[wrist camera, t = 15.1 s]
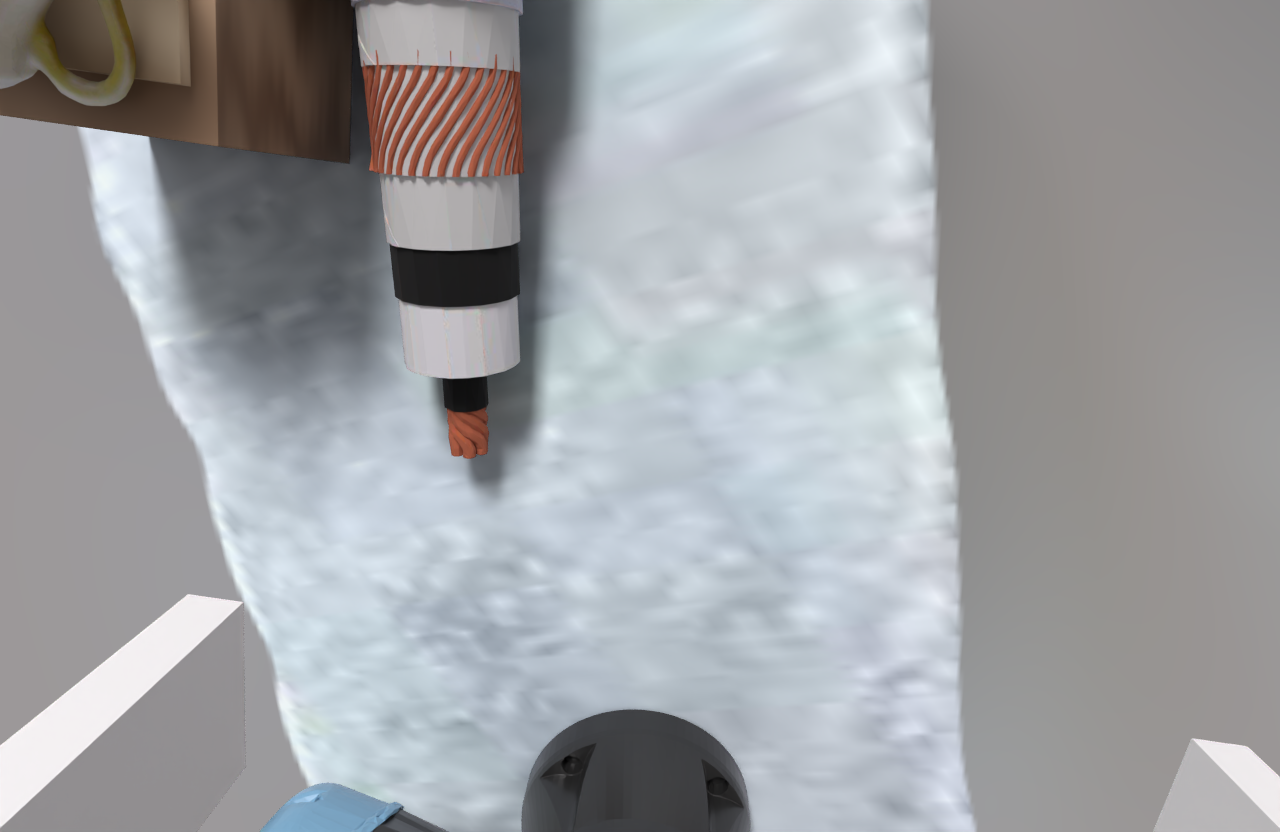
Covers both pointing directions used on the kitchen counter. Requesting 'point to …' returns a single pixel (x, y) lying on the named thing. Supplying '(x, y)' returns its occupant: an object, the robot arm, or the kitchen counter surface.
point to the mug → (22, 44)
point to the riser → (209, 74)
